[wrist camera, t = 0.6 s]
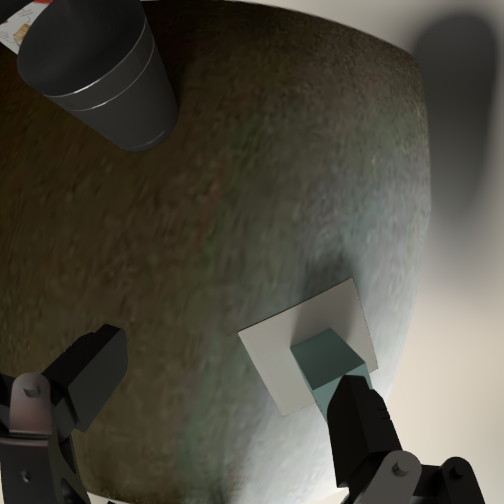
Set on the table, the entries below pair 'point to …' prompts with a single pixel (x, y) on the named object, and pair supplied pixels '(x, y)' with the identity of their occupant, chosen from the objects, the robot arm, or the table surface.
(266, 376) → the card
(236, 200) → the table surface
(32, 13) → the cracker box
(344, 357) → the teal block
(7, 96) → the table surface
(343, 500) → the robot arm
